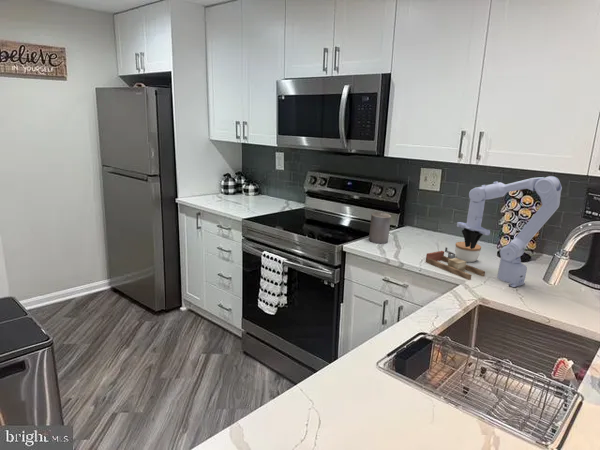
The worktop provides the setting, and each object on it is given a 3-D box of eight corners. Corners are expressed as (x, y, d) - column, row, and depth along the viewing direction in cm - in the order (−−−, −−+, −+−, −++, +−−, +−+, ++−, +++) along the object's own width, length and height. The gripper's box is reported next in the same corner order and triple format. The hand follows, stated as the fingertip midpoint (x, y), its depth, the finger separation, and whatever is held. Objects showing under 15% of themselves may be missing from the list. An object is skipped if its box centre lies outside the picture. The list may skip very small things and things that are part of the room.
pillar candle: (367, 237, 222) (370, 209, 218) (386, 238, 222) (389, 210, 218) (369, 243, 213) (372, 214, 209) (389, 244, 213) (392, 215, 209)
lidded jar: (451, 262, 191) (454, 242, 189) (455, 255, 201) (458, 236, 198) (477, 267, 187) (480, 246, 184) (479, 260, 196) (483, 240, 193)
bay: (484, 278, 174) (486, 266, 173) (468, 282, 169) (470, 270, 167) (440, 261, 192) (442, 250, 190) (425, 264, 186) (426, 253, 185)
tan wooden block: (465, 270, 178) (466, 261, 177) (457, 272, 176) (458, 263, 175) (454, 266, 183) (456, 257, 182) (446, 268, 180) (448, 259, 179)
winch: (455, 263, 191) (457, 250, 189) (451, 264, 189) (453, 251, 187) (446, 259, 195) (447, 247, 193) (441, 260, 193) (443, 247, 192)
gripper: (454, 212, 181) (449, 243, 184) (484, 221, 169) (479, 253, 173) (464, 211, 185) (460, 241, 188) (495, 219, 173) (489, 251, 176)
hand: (469, 247), depth 181 cm, fingers closed
